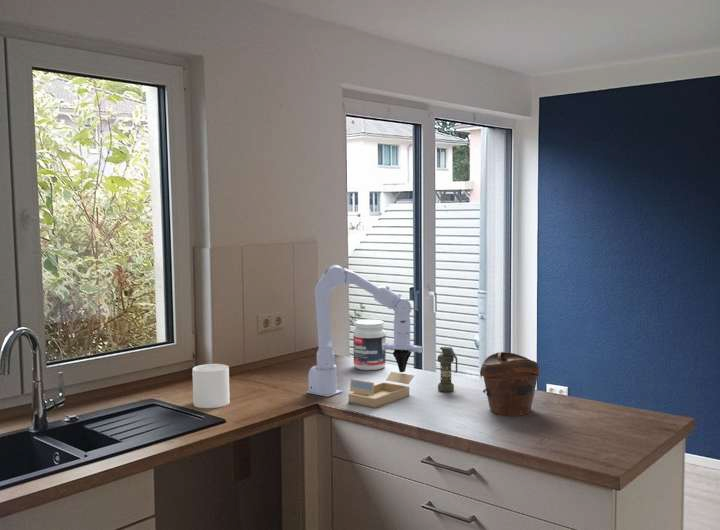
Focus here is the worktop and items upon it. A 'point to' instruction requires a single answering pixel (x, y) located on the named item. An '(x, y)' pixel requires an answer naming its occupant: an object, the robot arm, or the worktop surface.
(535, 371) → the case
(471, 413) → the worktop surface
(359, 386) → the near flap
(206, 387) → the white cylinder
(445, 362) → the grenade
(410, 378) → the far flap
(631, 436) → the worktop surface
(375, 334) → the supplement tub
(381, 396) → the light wood shallow tray
